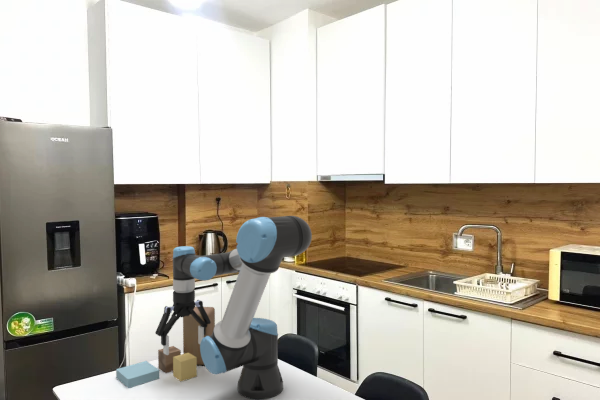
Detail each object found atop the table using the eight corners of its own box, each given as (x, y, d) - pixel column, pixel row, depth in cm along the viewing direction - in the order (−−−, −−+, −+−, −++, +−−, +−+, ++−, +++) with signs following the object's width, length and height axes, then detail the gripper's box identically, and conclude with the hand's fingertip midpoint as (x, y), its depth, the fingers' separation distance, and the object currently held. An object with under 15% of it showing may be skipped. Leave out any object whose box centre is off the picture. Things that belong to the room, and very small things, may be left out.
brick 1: (180, 368, 162) (180, 350, 162) (165, 373, 158) (165, 354, 158) (173, 363, 166) (173, 345, 166) (158, 368, 162) (158, 349, 162)
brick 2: (196, 376, 155) (196, 357, 155) (181, 381, 151) (181, 361, 151) (188, 371, 160) (188, 352, 159) (173, 376, 156) (173, 356, 155)
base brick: (159, 378, 154) (159, 370, 154) (128, 388, 146) (128, 379, 146) (146, 368, 162) (146, 360, 162) (116, 377, 154) (116, 369, 154)
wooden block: (215, 355, 174) (215, 306, 173) (208, 366, 164) (207, 313, 163) (191, 355, 175) (191, 305, 174) (182, 365, 165) (181, 313, 164)
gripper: (209, 282, 166) (209, 337, 167) (145, 294, 149) (145, 354, 150) (219, 286, 160) (219, 343, 161) (154, 298, 143) (155, 361, 144)
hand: (184, 349), depth 155 cm, fingers open, 13 cm apart
